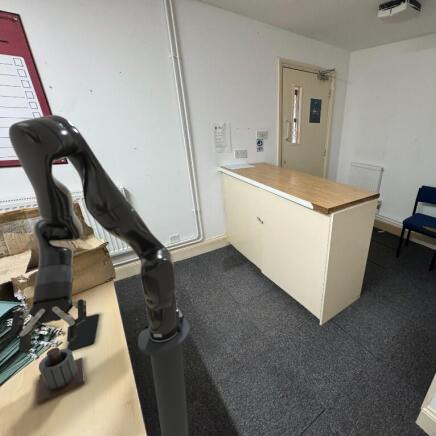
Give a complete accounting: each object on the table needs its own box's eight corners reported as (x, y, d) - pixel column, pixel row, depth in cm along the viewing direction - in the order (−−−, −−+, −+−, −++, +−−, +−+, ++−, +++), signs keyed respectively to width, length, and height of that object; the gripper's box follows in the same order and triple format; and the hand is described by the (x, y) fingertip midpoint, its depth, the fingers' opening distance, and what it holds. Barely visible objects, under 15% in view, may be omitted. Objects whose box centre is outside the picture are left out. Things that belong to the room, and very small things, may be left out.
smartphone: (65, 351, 73) (75, 319, 85) (66, 353, 74) (75, 320, 85) (94, 342, 77) (99, 313, 89) (94, 344, 77) (99, 314, 89)
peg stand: (82, 359, 72) (74, 332, 68) (84, 383, 66) (76, 354, 62) (40, 377, 66) (29, 348, 62) (38, 404, 60) (26, 374, 56)
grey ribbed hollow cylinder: (76, 362, 70) (71, 345, 67) (77, 379, 66) (72, 361, 63) (46, 375, 66) (39, 357, 63) (44, 393, 61) (37, 375, 59)
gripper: (10, 287, 59) (-1, 357, 54) (82, 276, 66) (79, 338, 60) (26, 291, 65) (18, 355, 60) (91, 281, 72) (88, 337, 66)
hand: (48, 346), depth 60 cm, fingers open, 8 cm apart
